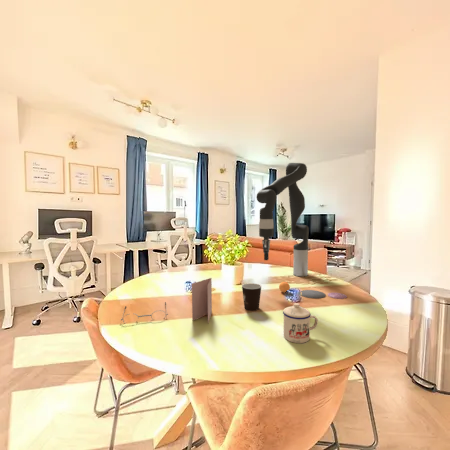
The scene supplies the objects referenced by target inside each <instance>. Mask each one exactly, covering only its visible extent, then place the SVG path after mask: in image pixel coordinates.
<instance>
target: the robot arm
mask: <svg viewBox="0 0 450 450" xmlns="http://www.w3.org/2000/svg"><path fill="white" fill-rule="evenodd" d="M307 168H308V167H307V165H306V164H305V163H304V162H289V163H287V165H286V167H285V175H284V176H282V177H279V178H277V179H276V180H274V181H273V182H272V183H271V184H269V185H267V186H265V187H263V188H261V189H259V191H257V194H256V201H257V202H258V203H259V204H265V205H264V207H262V208H260V210H259V222H258V225H259V226H258V229H259V230H258V232H259V235H258V236H259V237H261V238H263V239H262V242H261V243H262V249H263V250H262V251H263V252H262V253H263V260H264V261H269V255H270V254H269V253H270V248H271V239H270V238H272V237H274V231H275V229H274V225H275V224H274V210H275V206H276V202H277V196H279V195H281V193H282V192H283V191H284V190H286V189H287V188H288V198H289V199H288V200H289V210H290V211H289V212H290V229H291V230H290V231H291V232H290V233H291V237H292V239H294V240H302V241H301V242H299V243H296V244H295V243H294V245H293V267H292V268H293V270H292V271H293V276H296V277H308V276H309V275H308V274H309V273H308V271H309V255H308V254H309V226H308V225H305V224H301V225H299V224H297V223H298V220H299V218H300V217H301V215H302V214H303V213H304V210H305V208H306V201H305V196H304V194H303V192H302V191H301V190H300V188H299V186H298V183H297V182H298V181H301V180H303V179H304V178H305V177H306V176H307V174H308V173H307V172H308V169H307Z"/></svg>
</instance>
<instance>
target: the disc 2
mask: <svg viewBox="0 0 450 450" xmlns="http://www.w3.org/2000/svg"><path fill="white" fill-rule="evenodd" d="M327 296H328V297H329V298H333V299H335V300H336V299H337V300H338V299H339V300H343V299H344V298H345V299H347V298H348V296H347V295H346V294H345V293H340V292H328V293H327Z"/></svg>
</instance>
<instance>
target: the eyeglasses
mask: <svg viewBox="0 0 450 450" xmlns="http://www.w3.org/2000/svg"><path fill="white" fill-rule="evenodd" d="M164 304H165V306H167V302H166V301H165V302H164ZM126 308H127V306H125V307H124V310H123V313H122V317H121V318H120V321H122V322H123V323H124V322H125V320H124V318H125V317H127V315H129V313H127V314H125V310H126ZM165 309H166V310H165V311H164V310H159V312H162V313H164V314H165V316H164V318H166V316H168V315H169V313H167V307H165ZM155 312H156V313H157V310H155V311H153V312H152V313H151V314H143V315H138V314H136V313H134V315H136V316H137V318H143V317H144V318H145V317H151V319H152V320H153V319H154V318H153V317H152V316H153V314H154V313H155ZM124 314H125V315H124Z"/></svg>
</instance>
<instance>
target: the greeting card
mask: <svg viewBox="0 0 450 450" xmlns="http://www.w3.org/2000/svg"><path fill="white" fill-rule="evenodd" d="M212 282H213V281H212V277H209V278H206V279H203V280H200V281H196V282H193V283H191V313H192V316H191V317H192V319H191V320H192V322H193V320H194V321H196V320H199V319H200V318H202V317H204V316H207V323H209V322H210V319H211V316H212V312H213V310H212V309H213V307H212V306H213V301H212V299H213V298H212V297H213V294H212V293H213V292H212ZM195 319H196V320H195Z"/></svg>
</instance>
